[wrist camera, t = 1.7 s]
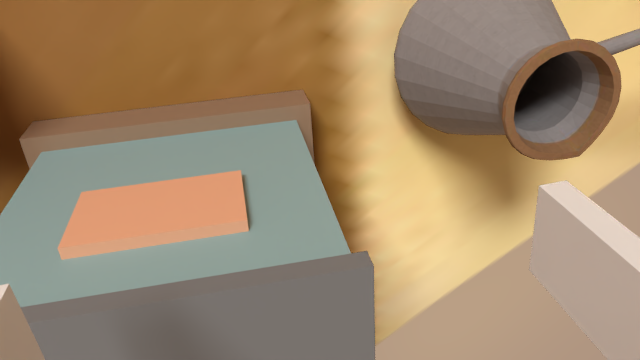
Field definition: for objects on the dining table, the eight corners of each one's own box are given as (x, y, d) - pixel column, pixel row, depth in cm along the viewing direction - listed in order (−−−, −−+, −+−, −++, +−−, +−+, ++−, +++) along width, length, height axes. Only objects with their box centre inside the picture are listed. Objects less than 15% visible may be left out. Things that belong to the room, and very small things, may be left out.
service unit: (32, 121, 35) (-137, 339, 18) (302, 89, 38) (386, 253, 20) (82, 267, 41) (-10, 541, 23) (314, 231, 43) (386, 455, 26)
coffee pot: (418, 146, 42) (516, 259, 28) (354, 14, 36) (439, 79, 23) (670, 4, 40) (895, 54, 27) (644, -158, 34) (913, -193, 21)
